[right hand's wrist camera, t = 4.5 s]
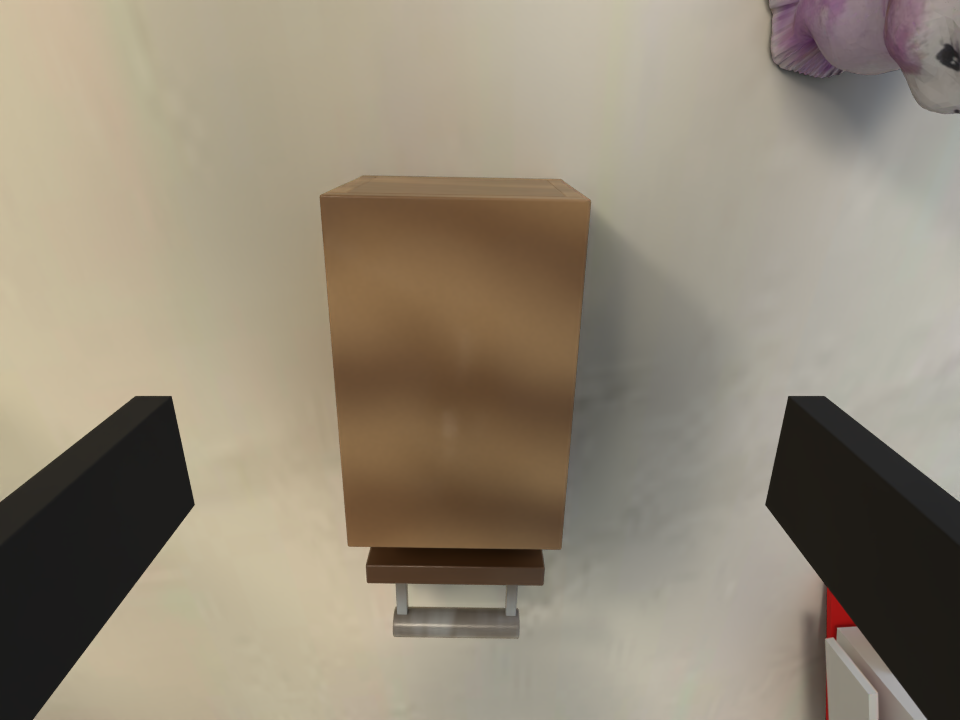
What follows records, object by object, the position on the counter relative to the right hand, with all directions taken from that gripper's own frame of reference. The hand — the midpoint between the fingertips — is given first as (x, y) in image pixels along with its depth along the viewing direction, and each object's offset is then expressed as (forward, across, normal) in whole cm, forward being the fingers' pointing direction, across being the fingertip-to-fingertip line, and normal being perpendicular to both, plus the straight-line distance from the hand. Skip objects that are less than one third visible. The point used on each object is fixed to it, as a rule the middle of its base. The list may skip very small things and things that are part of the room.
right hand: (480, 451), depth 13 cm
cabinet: (+21, -1, -4) cm, 21 cm away
